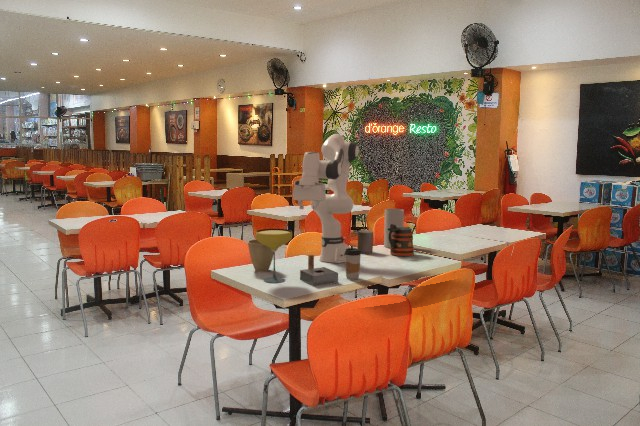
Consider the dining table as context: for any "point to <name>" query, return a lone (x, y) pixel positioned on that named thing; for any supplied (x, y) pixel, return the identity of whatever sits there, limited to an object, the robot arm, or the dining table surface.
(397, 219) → the cylinder vase
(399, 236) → the beer stein
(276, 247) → the cocktail glass
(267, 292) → the dining table surface
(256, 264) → the plant pot
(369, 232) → the pillar candle
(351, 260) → the coffee cup
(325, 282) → the nut block
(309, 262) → the walnut pin
